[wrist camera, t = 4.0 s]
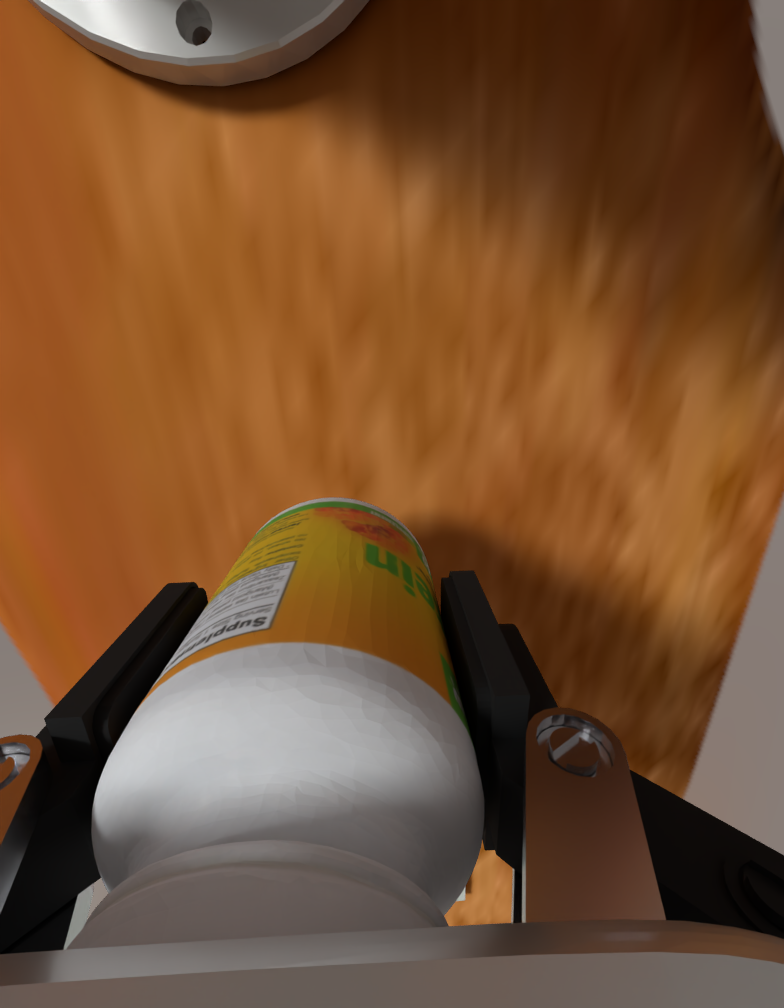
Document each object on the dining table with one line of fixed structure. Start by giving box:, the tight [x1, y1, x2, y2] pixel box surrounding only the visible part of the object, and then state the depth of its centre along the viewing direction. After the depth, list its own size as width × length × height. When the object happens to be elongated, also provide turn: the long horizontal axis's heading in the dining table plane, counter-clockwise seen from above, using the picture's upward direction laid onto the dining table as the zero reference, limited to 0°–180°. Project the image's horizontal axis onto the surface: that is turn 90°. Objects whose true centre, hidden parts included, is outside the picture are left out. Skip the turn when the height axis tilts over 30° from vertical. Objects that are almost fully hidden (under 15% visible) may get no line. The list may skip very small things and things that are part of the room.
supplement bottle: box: [66, 498, 484, 950], centre depth 8 cm, size 5×5×10 cm
